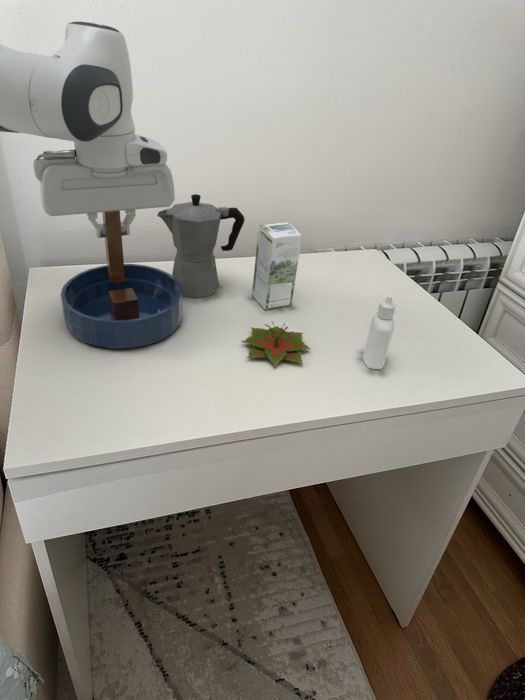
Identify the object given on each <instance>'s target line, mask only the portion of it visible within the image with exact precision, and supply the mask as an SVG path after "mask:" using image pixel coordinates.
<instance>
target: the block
mask: <svg viewBox="0 0 525 700" xmlns="http://www.w3.org/2000/svg"><path fill="white" fill-rule="evenodd" d="M109 301H110V311H111V314H112V316H113V318H114V320H130V319H136V318H139V306H138V298H137V296H136V294H135V292H134V290H133V288H128V289H121V290H114V291H109Z"/></svg>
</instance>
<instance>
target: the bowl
mask: <svg viewBox="0 0 525 700" xmlns="http://www.w3.org/2000/svg"><path fill="white" fill-rule="evenodd" d="M124 272H125V281H123V282H115V283H111V281H110V279H109V277H108V268H107V264H105V265H100V266H96V267H92V268H89V269H86V270H83V271H82V272H79V273H77V274H76V275H74V276H73V277H70V279H68V280H67V281H66V283H65V284H64V285H63V286H62V289H61V292H60V299H61V306H62V307H61V308H62V313H63V319H64V323H65V325H66V326H65V327H66V329H67V330H68V332H69V333H70V334H71V335H72V336H73V337H75V338H76V339H78V340H80V341H82V342H83V343H86V344H89V345H92V346H96V347H101V348H108V349H132V348H133V349H134V348H138V347H144V346H148V345H152V344H154V343H157V342H159V341H162V340H163V339H165V338H167V337H169V336H170V335H172V334H173V333H174V332H175V331H176V330H177V329H178V328H179V327H180V325H181V322H182V320H183V296H182V288H181V285H180V284H179V282H178V281H177V279H176V278H174V277H173V276H172V274H170V273H169V272H166V271H165V270H162V269H160V268H158V267H153V266H149V265H145V264H137V263H124ZM128 288H133V290H134V292H135V294H136V296H137V298H138V306H139V318H136V319H130V320H114V318H113V316H112V314H111V311H110V301H109V291H114V290H121V289H128Z"/></svg>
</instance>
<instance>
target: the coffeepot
mask: <svg viewBox="0 0 525 700" xmlns="http://www.w3.org/2000/svg"><path fill="white" fill-rule="evenodd" d="M201 197H202V196H201V194H197V193H196V194H195V193H194V194H191V196H190V198H191V201H188V202H182V203H176V204H175V203H174V205H173V206H172V207H169V208H165V209H162V210H160V211H158V213H157V217H159V218H160V219H161V220H162V221H163V222H164V224H165V225H166V227H167V229H168V230H169V232H170V233H171V236H172V241H173V246H174V247H175V249H176V254H175V257H174V261H173V266H172V274H171V275H172V276H173V277H174V278H176V279H177V281H178V282H179V284H180V285H181V288H182V297H184V298H188V299H189V298H190V299H201V298H207V297H210V296H212V295H214V294H215V293H216V292H217V291H218V287H219V285H220V283H219V277H218V270H217V263H216V257H215V255H214V249H215V248H216V245H217V240H218V234H219V230H220V225H221V221H222V220H229V219H234V221H233V224H232V227H231V232H230V234H229V235H228V241H227V244H226V245H221V246H220V248H221V251H223V252H228V251H232V250H234V247H235V244H236V242H237V239H238V237H239V235H240V233H241V230H242V228H243V226H244V223H245V217H244V215H243V213H242V212H241V210H239V209H238V208H237V207H226V206H224V207H216V206H215V205H213V204H210V203H205V202H204V203H203V202H201Z"/></svg>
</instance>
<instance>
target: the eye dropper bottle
mask: <svg viewBox="0 0 525 700" xmlns="http://www.w3.org/2000/svg"><path fill="white" fill-rule="evenodd" d="M395 310H396V304H395V303H394V302H393V296H392V295H391V294H389V295H387V296H386V297H385V299H384V300H380V301H379V303H378V308H377V312H375V313H374V314H373V316H372V317H371V322H370V324H369V329H368V333H367V338H366V342H365V346H364V350H363V354H362V358H363V362H364V365H366V367H367V368H368V369H373V370H382V369H383V367H384V365H385V364H386V363H385V362H386V359H387V355H388V351H389V348H390V345H391V341H392V337H393V333H394V329H395V321H394V320H395V319H394V318H393V317H394V314H395Z"/></svg>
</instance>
